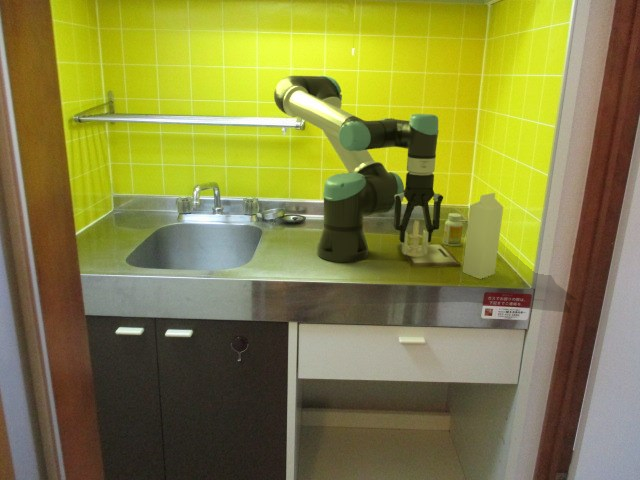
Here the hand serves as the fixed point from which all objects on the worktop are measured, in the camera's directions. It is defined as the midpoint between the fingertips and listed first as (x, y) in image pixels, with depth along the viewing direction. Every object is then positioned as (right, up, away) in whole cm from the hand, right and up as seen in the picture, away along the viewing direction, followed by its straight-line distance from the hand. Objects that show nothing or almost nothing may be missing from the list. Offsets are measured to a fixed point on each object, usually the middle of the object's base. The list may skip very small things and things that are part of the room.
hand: (414, 252), depth 143 cm
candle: (0, -1, 0) cm, 1 cm away
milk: (+16, -6, -9) cm, 19 cm away
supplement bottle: (+15, +2, +15) cm, 21 cm away
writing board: (+5, -1, +4) cm, 6 cm away
